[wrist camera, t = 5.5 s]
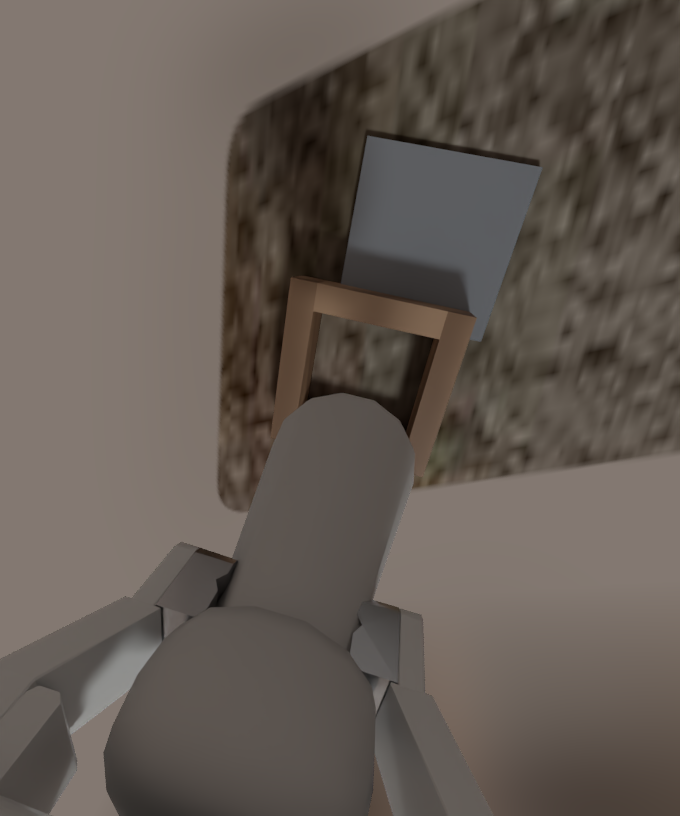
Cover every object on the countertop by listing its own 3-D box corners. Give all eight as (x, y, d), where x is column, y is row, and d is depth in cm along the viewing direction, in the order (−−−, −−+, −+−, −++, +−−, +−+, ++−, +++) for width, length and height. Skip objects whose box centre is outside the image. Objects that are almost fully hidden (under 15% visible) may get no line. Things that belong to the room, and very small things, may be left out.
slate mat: (540, 168, 20) (542, 167, 20) (479, 340, 24) (480, 341, 24) (368, 137, 21) (367, 135, 21) (337, 308, 25) (335, 309, 25)
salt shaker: (309, 495, 18) (125, 914, 7) (275, 391, 17) (-62, 706, 5) (425, 482, 17) (458, 992, 5) (401, 365, 15) (367, 733, 3)
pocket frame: (468, 311, 24) (476, 317, 21) (421, 456, 29) (422, 477, 26) (303, 275, 25) (290, 277, 22) (283, 421, 29) (270, 438, 27)
